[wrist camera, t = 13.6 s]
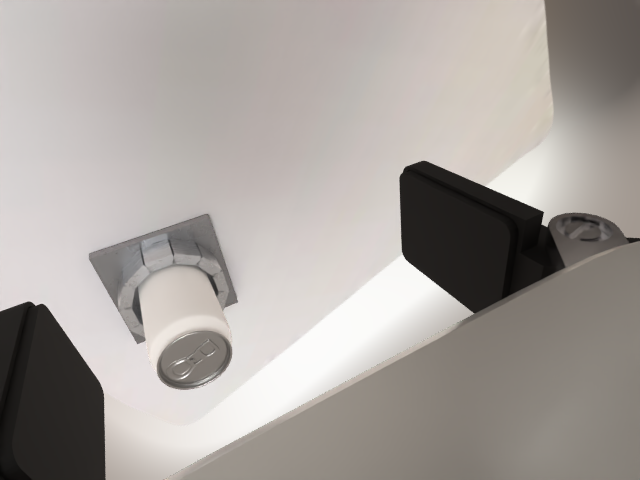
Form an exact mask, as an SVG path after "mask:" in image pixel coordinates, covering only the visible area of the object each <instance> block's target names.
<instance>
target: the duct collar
mask: <svg viewBox="0 0 640 480" xmlns="http://www.w3.org/2000/svg"><path fill="white" fill-rule="evenodd" d="M89 260H90V262H91V263H92V265H93V267H94V269H95V270H96V272H97V274H98V276H99V277H100V279H101V281H102V283H103V284H104V286H105V288H106V290H107V291H108V293H109V295H110V297H111V298H112V300H113V302H114V304H115V305H116V307H117V309H118V311H119V313H120V314H121V316H122V318H123V320H124V321H125V323H126V325H127V327H128V328H129V330H130V332H131V334H132V335H133V337H134V339H135V341H136V342H137V344H139V343H141V342H144V341H146V339H145V333H144V326H143V320H142V313H141V306H140V299H139V292H138V285H139V284H140V283H141V282H142V281H143V280H144V279H145V278H146V277H147V276H148V275H149V274H150V273H151V272H153V271H156V270H159V269H161V268H164V267H167V266H169V265H172V264H184V265H197V266H198V267H200V268H201V269H203V270H204V271H205V272H206V274H207V276H208V278H209V281H210V283H211V285H212V288H213V290H214V292H215V295H216V297H217V299H218V302H219V304H220V306H221V309H222V311H223V310H224V308H225V307H227V306H230V305H232V304H235V303H237V302H238V300H237V297H236V295H235V292H234V289H233V286H232V283H231V280H230V277H229V274H228V271H227V268H226V265H225V262H224V259H223V256H222V253H221V250H220V247H219V244H218V242H217V239H216V236H215V233H214V230H213V227H212V224H211V221H210V218H209V216H208V214H206V215H203V216H200V217H197V218H194V219H191V220H188V221H185V222H182V223H179V224H176V225H173V226H170V227H167V228H164V229H161V230H158V231H155V232H152V233H149V234H147V235H144V236H141V237H138V238H135V239H132V240H129V241H126V242H123V243H120V244H117V245H114V246H111V247H108V248H105V249H102V250H99V251H96V252H93V253H90V254H89Z"/></svg>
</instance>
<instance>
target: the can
mask: <svg viewBox="0 0 640 480" xmlns="http://www.w3.org/2000/svg"><path fill="white" fill-rule="evenodd" d="M138 292H139V299H140V306H141V313H142V320H143V326H144V333H145V339H146V345H147V351H148V357H149V361H150V363H151V366H152V367H153V369H154V370H155V371H156V372H157V374H158V376H159V378H160V380H161V381H162V382H163V383H164V384H166V385H167V386H169V387H171V388H175V389H181V390H187V389H194V388H198V387H201V386H204V385H206V384H208V383H210V382H212V381H214V380H215V379H216V378H218V377H219V376H220V375H221V374H222V373H223V372H224V371H225V370H226V368H227V367H228V365H229V363H230V361H231V358H232V347H231V344H232V335H231V331H230V328H229V325H228V323H227V320H226V318H225V316H224V313H223V311H222V309H221V306H220V304H219V302H218V299H217V297H216V295H215V292H214V290H213V288H212V285H211V283H210V281H209V278H208V276H207V274H206V272H205V271H204V270H203V269H201V268H200V267H198V266H197V265H184V264H172V265H169V266H167V267H164V268H161V269H159V270H156V271H153V272H151V273H150V274H149V275H148V276H147V277H146V278H145V279H144V280H143V281H142V282H141V283H140V284H139V285H138Z"/></svg>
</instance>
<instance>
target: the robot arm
mask: <svg viewBox="0 0 640 480" xmlns="http://www.w3.org/2000/svg"><path fill="white" fill-rule="evenodd" d="M400 209H401V239H402V253H403V255H404V257H405V259H406V260H407V261H408V262H409V263H411V264H412V265H413V266H414V267H416V268H417V269H418V270H419V271H421V272H422V273H423V274H425V275H426V276H427V277H428V278H430V279H431V280H432V281H434V282H435V283H436V284H437V285H439V286H440V287H441V288H443V289H444V290H445V291H447V292H448V293H449V294H450V295H452V296H453V297H454V298H456V299H457V300H458V301H459V302H460V303H462V304H463V305H464V306H466V307H467V308H468V309H469V310H471V311H472V312H473V313H475V314H473V315H471V316H470V317H468V318H466V319H464V320H462V321H460V322H458V323H456V324H454V325H452V326H451V327H448V328H447V329H445V330H443V331H441V332H439V333H437V334H435V335H433V336H431V337H429V338H427V339H426V340H424V341H422V342H420V343H418V344H416V345H414V346H412V347H411V348H409V349H407V350H405V351H403V352H401V353H399V354H397V355H395V356H393V357H392V358H390V359H388V360H386V361H384V362H382V363H380V364H378V365H376V366H375V367H373V368H371V369H369V370H367V371H365V372H364V373H361V374H359V375H358V376H356V377H354V378H352V379H350V380H348V381H346V382H344V383H342V384H341V385H339V386H337V387H335V388H333V389H331V390H329V391H327V392H325V393H324V394H322V395H320V396H318V397H316V398H314V399H312V400H311V401H309V402H307V403H305V404H303V405H301V406H299V407H298V408H296V409H294V410H292V411H290V412H288V413H286V414H284V415H282V416H281V417H279V418H277V419H275V420H273V421H271V422H269V423H267V424H266V425H264V426H262V427H260V428H258V429H256V430H254V431H253V432H251V433H249V434H247V435H245V436H243V437H242V438H239V439H238V440H236V441H234V442H232V443H230V444H229V445H226V446H225V447H223V448H221V449H219V450H217V451H215V452H213V453H212V454H210V455H208V456H206V457H204V458H202V459H200V460H198V461H197V462H195V463H193V464H191V465H189V466H187V467H186V468H184V469H182V470H180V471H178V472H177V473H175V474H173V475H171V476H169V477H168V478H166V479H164V480H640V238H626V237H625V236H624V234H623V233H622V231H621V230H620V229H619V227H617V225H615V224H614V223H613V222H611V221H609V220H607V219H605V218H602V217H599V216H597V215H592V214H586V213H565V214H561V215H557V216H555V217H554V218H552V219H551V220H550V222H549V224H548V227H546V226H543V225H541V224H542V218H543V213H544V212H543V211H540V210H538V209H536V208H533V207H531V206H528V205H526V204H524V203H522V202H519V201H517V200H515V199H512V198H510V197H508V196H505V195H503V194H501V193H498V192H496V191H494V190H492V189H489V188H487V187H485V186H482V185H480V184H478V183H475V182H473V181H471V180H469V179H466V178H464V177H462V176H459V175H457V174H455V173H452V172H450V171H448V170H445V169H443V168H441V167H438V166H436V165H434V164H432V163H429V162H427V161H421V162H418V163H415V164H412V165H410V166H407V167H405V168H404V171H403V173H402V174H401V175H400ZM104 429H105V428H104V394H103V390H102V387H101V384H100V382H99V381H98V379H97V378H96V376H95V375H94V374H93V372H92V371H91V369H90V368H89V366H88V365H87V364H86V362H85V361H84V359H83V358H82V356H81V355H80V354H79V352H78V351H77V349H76V348H75V346H74V345H73V344H72V342H71V341H70V339H69V338H68V336H67V335H66V334H65V332H64V331H63V329H62V328H61V326H60V325H59V324H58V322H57V321H56V319H55V318H54V316H53V315H52V314H51V312H50V311H49V309H48V308H47V307H46V306H45V305H44V304H40V305H37V306H35V305H34V304H33V303H32V302H26V303H23V304H20V305H17V306H14V307H12V308H9V309H6V310H3V311H0V480H105V430H104Z"/></svg>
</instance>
